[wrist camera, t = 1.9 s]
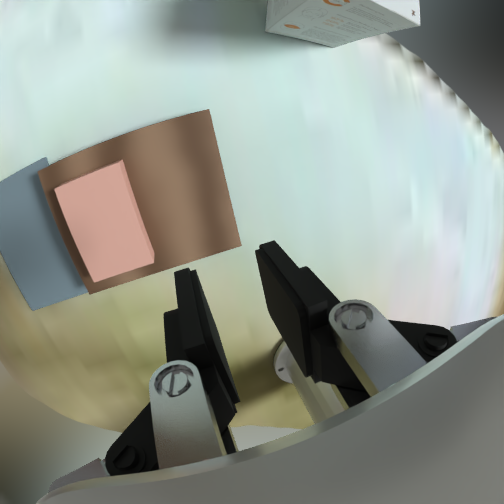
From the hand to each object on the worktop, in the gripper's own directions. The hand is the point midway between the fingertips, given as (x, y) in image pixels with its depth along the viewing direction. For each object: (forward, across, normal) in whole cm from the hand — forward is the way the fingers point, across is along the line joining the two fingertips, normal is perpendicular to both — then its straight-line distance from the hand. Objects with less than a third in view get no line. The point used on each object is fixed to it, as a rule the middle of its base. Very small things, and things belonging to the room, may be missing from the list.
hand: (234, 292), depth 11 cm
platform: (+19, +5, 0) cm, 20 cm away
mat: (+19, +18, 0) cm, 26 cm away
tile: (+15, +8, 0) cm, 17 cm away
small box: (+19, -15, -16) cm, 29 cm away
